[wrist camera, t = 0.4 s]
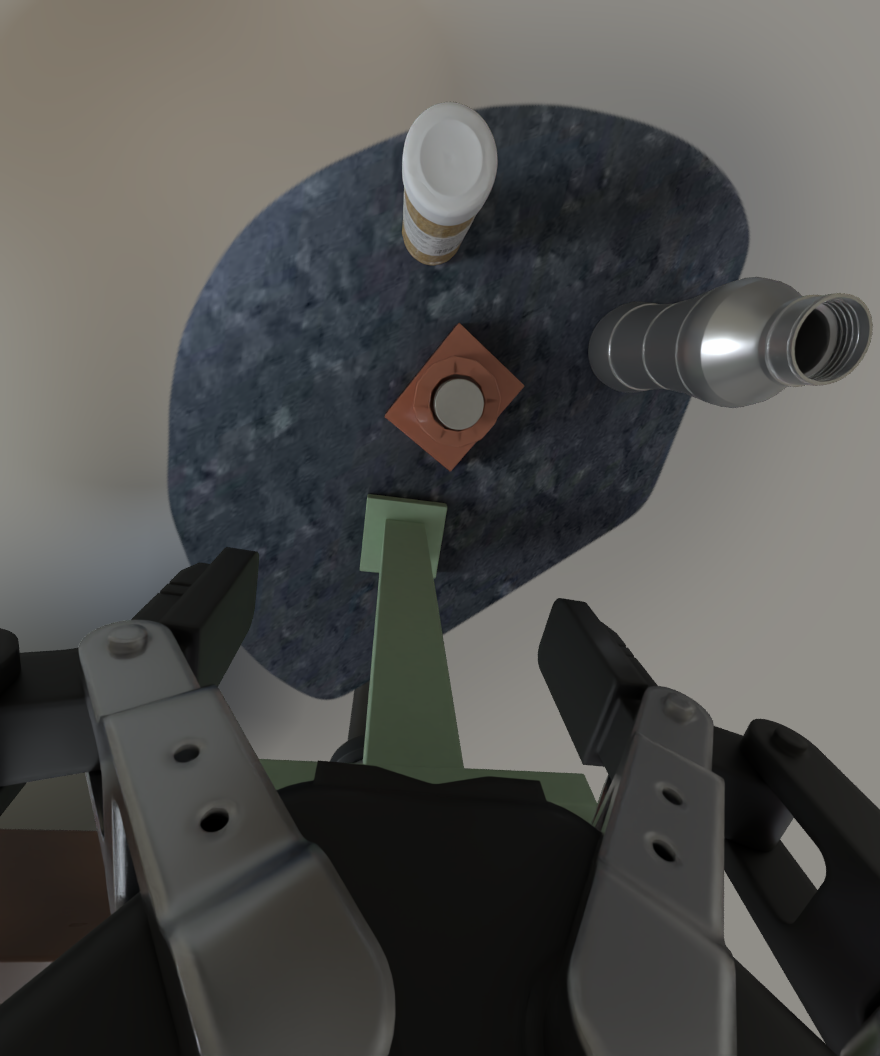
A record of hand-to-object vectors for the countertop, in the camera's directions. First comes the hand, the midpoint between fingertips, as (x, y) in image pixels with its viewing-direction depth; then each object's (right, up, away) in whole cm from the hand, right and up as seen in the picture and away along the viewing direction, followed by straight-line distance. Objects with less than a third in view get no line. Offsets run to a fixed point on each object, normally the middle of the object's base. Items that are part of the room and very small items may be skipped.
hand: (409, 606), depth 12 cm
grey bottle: (+16, +17, +26) cm, 35 cm away
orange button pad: (+2, +13, +26) cm, 29 cm away
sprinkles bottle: (0, +24, +22) cm, 33 cm away
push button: (+2, +12, +23) cm, 26 cm away
